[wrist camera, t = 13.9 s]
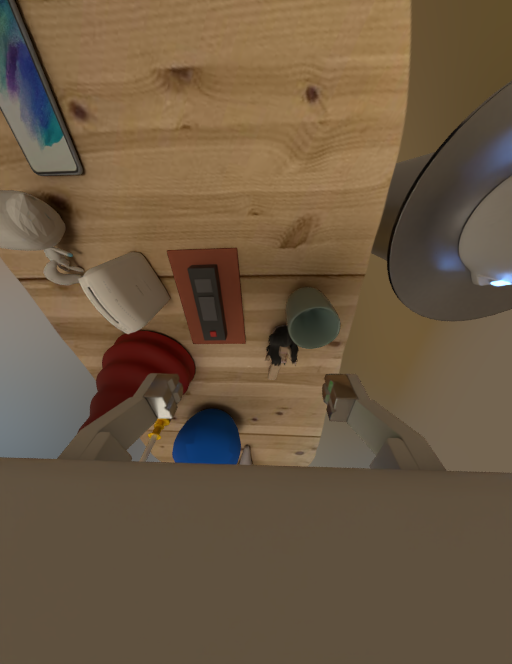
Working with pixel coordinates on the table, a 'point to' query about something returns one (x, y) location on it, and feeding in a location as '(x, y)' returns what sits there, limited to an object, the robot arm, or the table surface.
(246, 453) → the grey long tapered piece
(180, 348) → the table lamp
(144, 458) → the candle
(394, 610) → the robot arm
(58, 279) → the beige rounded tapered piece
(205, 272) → the remote
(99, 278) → the photo printer
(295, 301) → the cup
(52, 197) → the table surface
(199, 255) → the mat
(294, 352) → the toy figure
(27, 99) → the smartphone
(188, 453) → the vase
